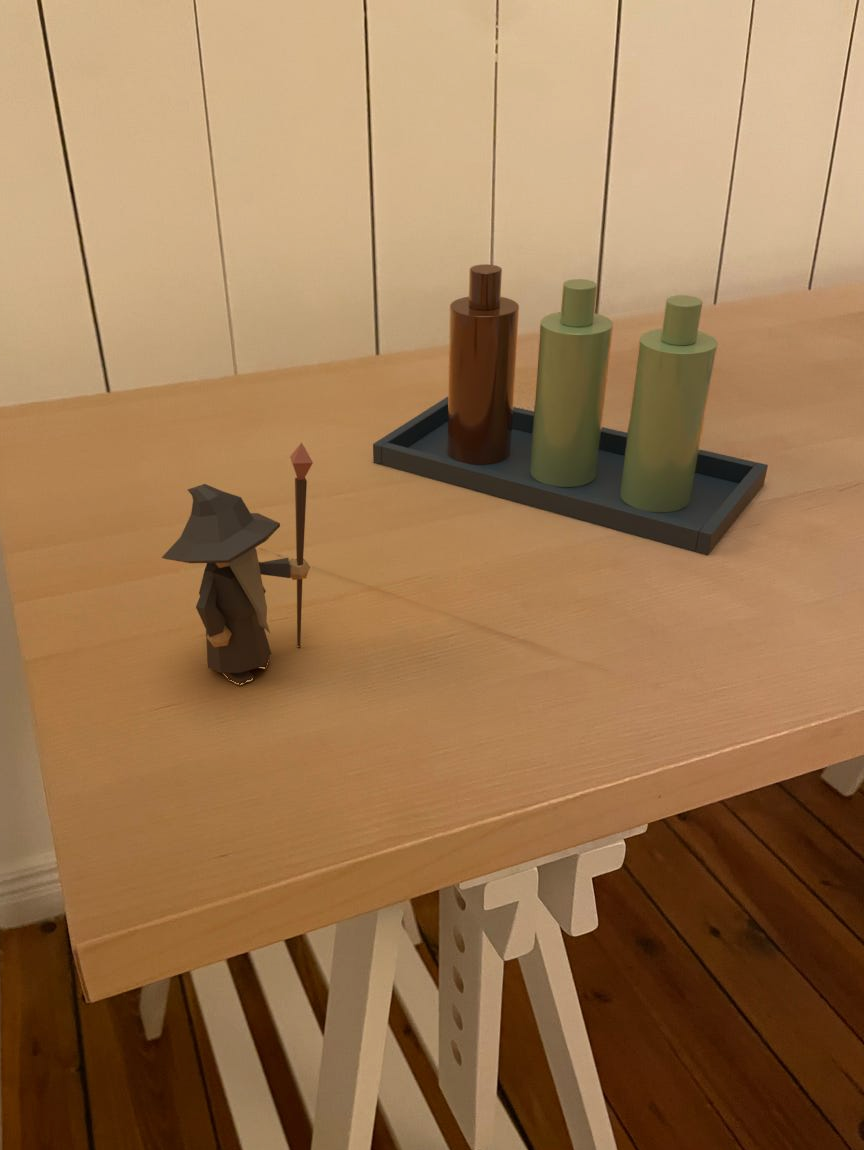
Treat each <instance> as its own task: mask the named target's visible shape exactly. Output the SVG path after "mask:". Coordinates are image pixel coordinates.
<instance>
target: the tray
mask: <svg viewBox="0 0 864 1150" xmlns="http://www.w3.org/2000/svg"><path fill="white" fill-rule="evenodd" d="M533 418H534V410H530V409H525V408H521V407H516V406H513V420H512V438H511V453H510V455H509V456H508V457H507V458H506V459H505V460H503V461H500V462H497V463H493V464H486V465H474V464H467V463H463V462H459V461H457V460H455V459H453V458H452V457H450V456H449V454H448V452H447V440H448V396H446V397H445V398H443V399H441V400H440V401H438V402H437V403H435V404H434V405H432V406H431V407H429V408H427V409H425V410H423V411H422V412H421V413H419V414H418V415H416V416H414V417H413V418H411V419H410V420H408V421H407V422H405V423H403V424H402V425H400V426H399V427H397V428H396V429H394V430H393V431H391V432H389V433H387V434H386V435H385V436H383V437H382V438H380V439H378V440H377V441H375V442H374V443H372V461H373V464H376V465H379V466H383V467H387V468H390V469H394V470H398V471H401V472H404V473H408V474H412V475H415V476H419V477H422V478H425V479H429V480H433V481H437V482H440V483H444V484H446V485H447V484H448V485H451V486H455V487H458V488H462V489H466V490H469V491H472V492H476V493H479V494H484V495H487V496H490V497H495V498H498V499H501V500H505V501H509V502H512V503H516V504H520V505H523V506H526V507H530V508H534V509H537V510H541V511H545V512H548V513H552V514H555V515H560V516H563V517H565V518H570V519H573V520H578V521H581V522H585V523H588V524H592V525H595V526H599V527H603V528H606V529H609V530H613V531H617V532H620V533H624V534H628V535H632V536H635V537H638V538H642V539H645V540H648V541H653V542H656V543H660V544H664V545H668V546H670V547H675V548H678V549H682V550H685V551H688V552H691V553H692V552H693V553H696V554H701V555H704V556H709V555H710V553H711V552H712V551H713V550H714V548H715V547H716V545H717V544H718V543H719V542H721V541H720V540H722V538H723V537H724V536H725V534H726V533H727V532H728V531H729V529H730V528H731V527H732V526H733V524H734V523H735V522H736V520H737V519H738V518H739V517H740V515H741V514H742V513H743V512H744V511H745V509H746V508H747V507H748V505H750V503H751V502H752V500H753V499H754V498H755V497H756V495H757V494H758V493H759V492H760V491H761V489H762V488H763V487H764V484H765V481H766V477H767V472H768V467H769V464H766V463H761V462H756V461H752V460H748V459H743V458H739V457H734V456H731V455H726V454H722V453H718V452H713V451H708V450H704V449H701V448H699V454H698V460H697V466H696V471H695V477H694V483H693V488H692V494H691V500H690V503H689V504H688V505H687V506H686V507H684V508H683V509H680V510H677V511H673V512H661V513H660V512H649V511H645V510H641V509H637V508H634V507H632V506H630V505H628V504H626V503H625V502H624V501H623V500H622V499H621V497H620V486H621V479H622V471H623V463H624V455H625V447H626V440H627V432H625V431H621V430H617V429H612V428H608V427H603V426H602V431H601V440H600V449H599V458H598V466H597V475H596V477H595V479H594V480H593V481H592V482H590V483H588V484H586V485H583V486H578V487H555V486H550V485H546V484H543V483H541V482H539V481H537V480H535V479H534V478H533V477H532V476H531V474H530V461H531V447H532V433H533Z"/></svg>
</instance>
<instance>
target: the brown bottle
mask: <svg viewBox="0 0 864 1150" xmlns="http://www.w3.org/2000/svg"><path fill="white" fill-rule="evenodd" d="M502 275H503V269H502V267H501V266H499V265H495V264H485V263H484V264H475V265H473V266H471V267H470V268H469V276H468V296H465V297H460V298H458V299H455V300H453V301H452V302H451V303H450V304H449V328H448V329H449V330H448V331H449V333H448V334H449V335H448V384H447V385H448V389H447V390H448V392H447V397H448V440H447V452H448V454H449V456H450V457H452V458H453V459H455V460H457V461H459V462H463V463H467V464H474V465H486V464H493V463H497V462H500V461H503V460H505V459H506V458H507V457H508V456H509V455H510V453H511V438H512V420H513V407H514V401H515V386H516V385H515V384H516V383H515V381H516V369H517V368H516V367H517V366H516V364H517V348H518V332H519V331H518V329H519V315H520V314H519V313H520V305H519V303H518V302H517V301H516V300H514V299H510V298H508V297H504V296H502Z"/></svg>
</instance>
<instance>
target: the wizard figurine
mask: <svg viewBox="0 0 864 1150" xmlns="http://www.w3.org/2000/svg"><path fill="white" fill-rule="evenodd" d="M289 458H290V462H291V464H292V467H293V469H294V472H295V475H296V477H294V498H295V501H294V502H295V506H294V507H295V546H296V547H295V548H296V549H295V551H296V558H290V559H289V557H284V558H278V559H273V560H272V559H271V560H267V561H259V557H258V551H257V547H259V546H260V545H262V544H264V543H265V542H267V541H268V540H269V538H270V537H272V535H273V534H274V533H275V532H276V531H277V530H278V529H279V528H281V523H280V522H278V521H276V520H274V519H272V518H269V517H268V516H265V515H263V514H261V513H258V512H250V510H249V508H248V506H247V505H246V503H245V502H244V500H243V498H242V497H241V496H238V495H235V494H232V493H229V492H227V491H223V490H220V489H219V488H216V487H213V486H211V485H208V484H206V483H203V484H200V485H197V486H194V487H190V488H188V489H186V490H187V491H188V493H189V494H190V495H191V497H192V505H191V506H192V507H191V511H190V515H189V517H188V520H187V522H186V524H185V526H184V529H183V530H182V532H181V535H180V536H179V538H178V539H177V540H176V541H175V542H174V543H173V545H171V546H170V547H169V549H168V550H167V551H166V552H165V553H164V554H163V555H162V556H161V558H162V559H165V560H169V561H174V562H181V563H187V564H206V565H205V568H204V571H203V575H202V579H201V583H200V587H199V591H198V595H199V598H198V600H197V603H196V605H195V609H196V611H197V613H198V615H199V617H200V620H201V621H202V624H203V626H204V628H205V638H206V639H205V640H206V641H205V642H206V660H207V669H209V670H212V671H215V672H217V673H220V674H223V673H224V674H225V675H226V676H227V677H228V679H229V680H232V681H234V682H236V683H239V685H240V684H241V683H245V682H246V681H247V680H251V679H252V678H254V679H255V677H254V675H253V673H252V672H251V670H255V669H258V668H259V667H265V668H266V666H267V663H268V660H269V661H270V657H271V655H272V651H271V647H270V644H269V641H268V640H269V639H268V637H267V634H266V631H267V632H268V633H269V634H272V633H271V631H270V627H269V624H268V622H267V621H268V620H267V619H268V617H267V616H268V605H267V600H266V595H265V594H266V592H267V591H266V588H265V587H264V584H263V578H262V576H269V577H277V578H285V579H291V580H293V581H296V647H297V646H300V647H301V642H302V641H301V637H302V636H301V635H302V607H303V606H302V605H303V580H304V579H305V580H306V579H307V578H308V574H309V571H310V569H311V565H310V564H309V563H308V561H306V559H305V558H304V551H305V528H306V508H307V487H308V485H307V484H308V480H307V479H306V477H307V474H308V473H309V470H310V469H311V467H312V465H313V464H314V462H313V459H312V458H311V456H310V454H309V452H308V451H307V449H306V447H305V446H304V444H303V442H300V444H299V445H298V446H297V447H296V448H295V450H294V451H293V452H292V453H291V454H290V456H289ZM268 664H269V663H268ZM267 667H268V666H267ZM266 669H267V668H266Z"/></svg>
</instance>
